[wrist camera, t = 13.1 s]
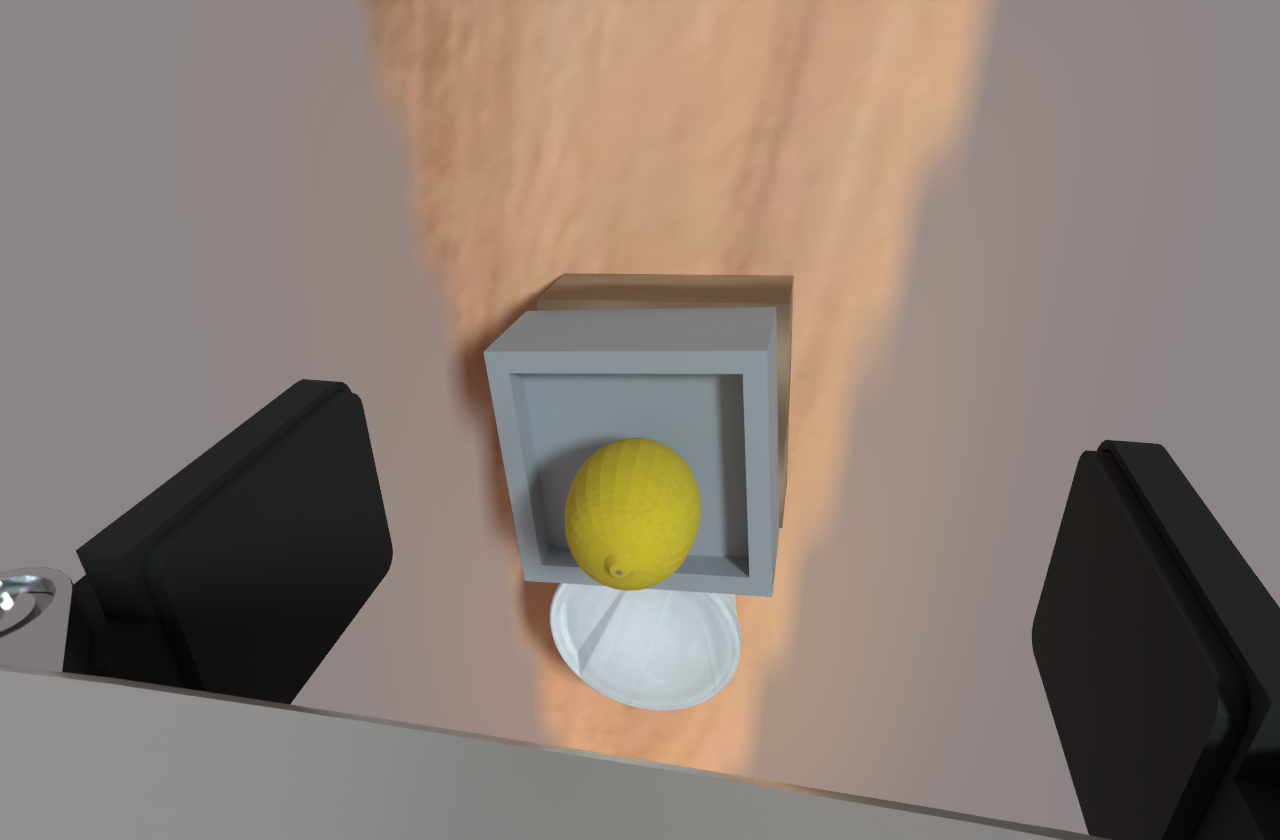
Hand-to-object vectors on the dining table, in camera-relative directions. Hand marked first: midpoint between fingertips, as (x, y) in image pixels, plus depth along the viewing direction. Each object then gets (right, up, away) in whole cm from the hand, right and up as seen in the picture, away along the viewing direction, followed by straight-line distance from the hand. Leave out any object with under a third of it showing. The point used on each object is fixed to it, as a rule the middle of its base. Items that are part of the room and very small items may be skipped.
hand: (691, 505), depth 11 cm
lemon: (0, -1, +26) cm, 26 cm away
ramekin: (+1, -9, +40) cm, 41 cm away
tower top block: (0, +1, +30) cm, 30 cm away
